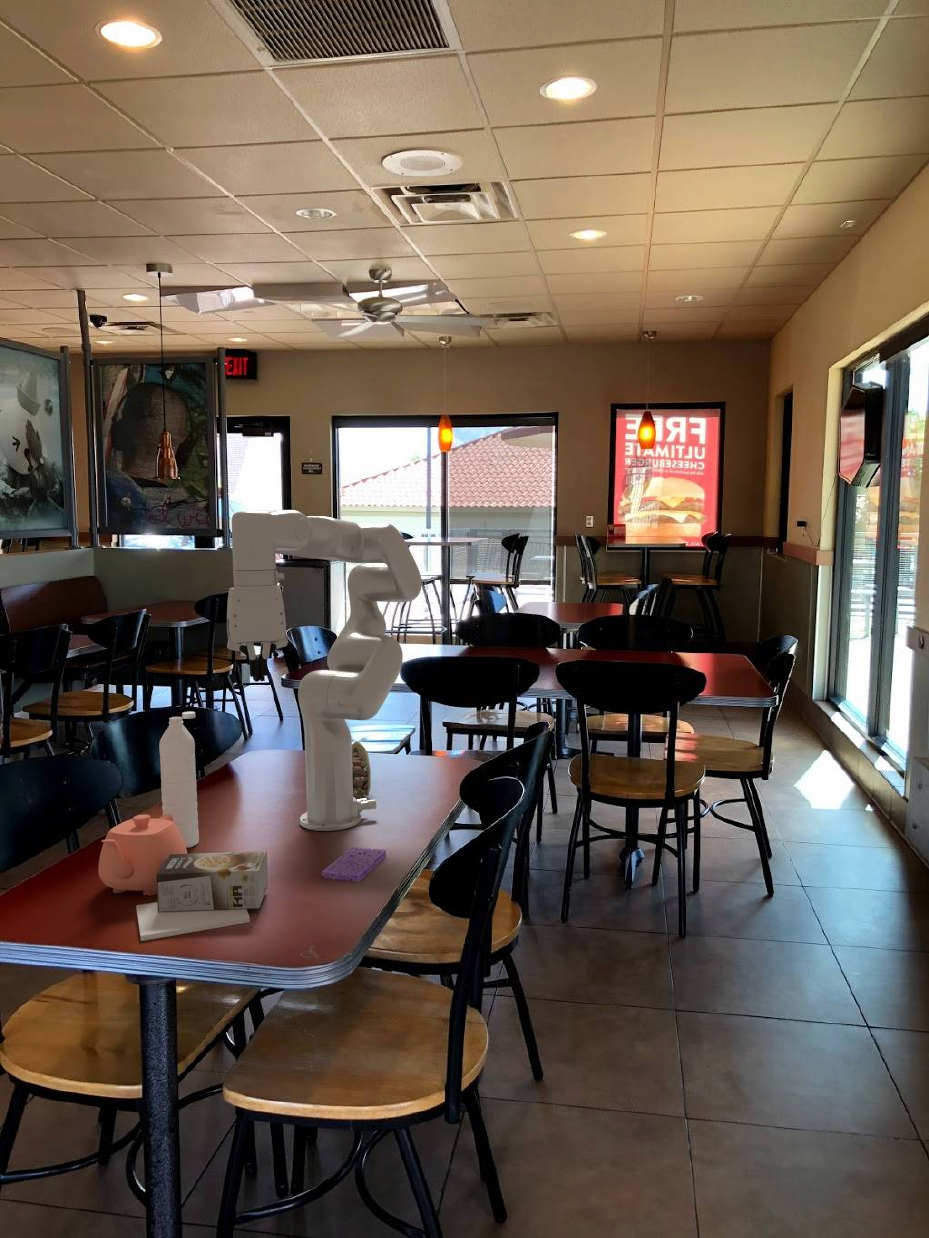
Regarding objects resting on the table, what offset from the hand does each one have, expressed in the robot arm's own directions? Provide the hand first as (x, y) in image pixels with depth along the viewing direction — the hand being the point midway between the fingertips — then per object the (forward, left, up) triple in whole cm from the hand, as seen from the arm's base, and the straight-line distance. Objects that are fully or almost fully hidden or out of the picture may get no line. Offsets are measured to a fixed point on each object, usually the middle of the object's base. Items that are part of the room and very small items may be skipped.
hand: (258, 680), depth 168 cm
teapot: (+22, +6, -33) cm, 40 cm away
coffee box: (+4, +21, -29) cm, 36 cm away
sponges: (-14, +12, -34) cm, 39 cm away
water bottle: (+13, -14, -33) cm, 38 cm away
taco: (-25, -39, -34) cm, 57 cm away
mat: (+15, +22, -33) cm, 43 cm away
